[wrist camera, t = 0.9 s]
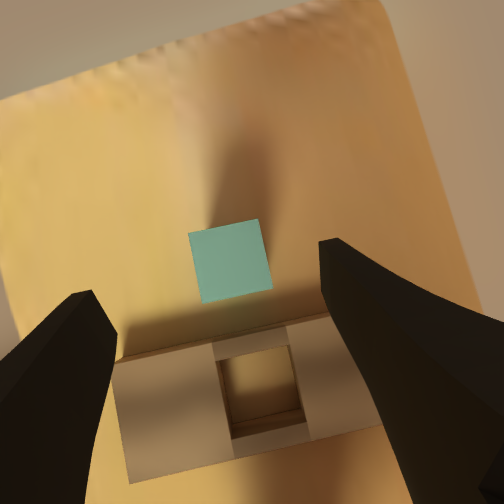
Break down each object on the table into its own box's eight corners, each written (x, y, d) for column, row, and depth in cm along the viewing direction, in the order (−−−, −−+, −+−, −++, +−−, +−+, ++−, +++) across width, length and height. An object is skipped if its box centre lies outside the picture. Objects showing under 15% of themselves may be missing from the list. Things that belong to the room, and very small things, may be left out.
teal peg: (265, 286, 26) (273, 288, 18) (215, 297, 26) (202, 303, 18) (254, 237, 26) (257, 218, 18) (205, 248, 26) (188, 233, 18)
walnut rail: (396, 403, 25) (412, 417, 23) (141, 463, 25) (129, 484, 22) (371, 302, 26) (384, 304, 23) (122, 357, 25) (108, 365, 23)
